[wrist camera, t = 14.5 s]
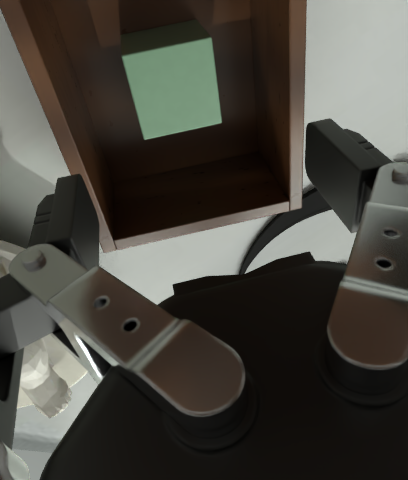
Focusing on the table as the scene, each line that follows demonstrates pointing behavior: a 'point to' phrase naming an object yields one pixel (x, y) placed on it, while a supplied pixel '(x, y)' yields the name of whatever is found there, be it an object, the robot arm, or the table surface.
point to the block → (172, 78)
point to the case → (178, 144)
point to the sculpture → (43, 363)
